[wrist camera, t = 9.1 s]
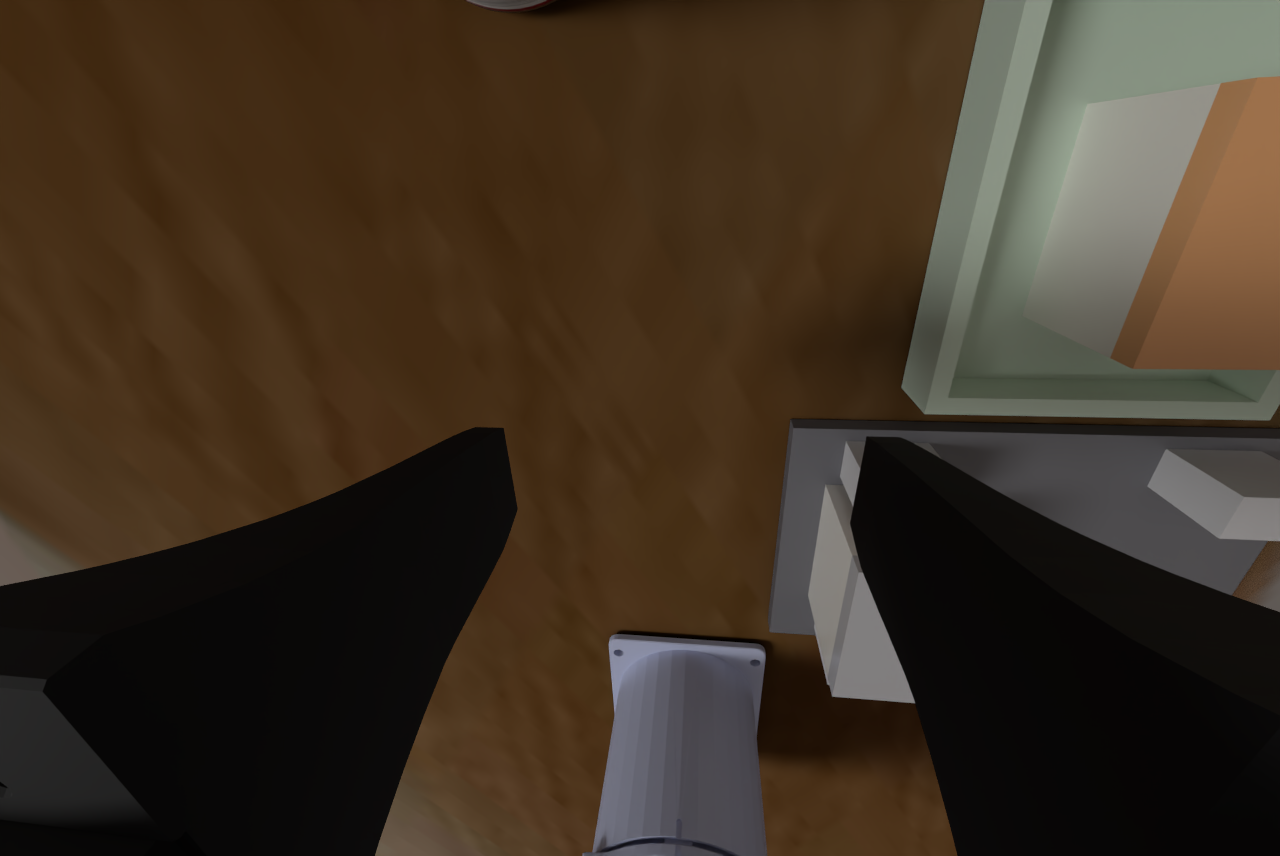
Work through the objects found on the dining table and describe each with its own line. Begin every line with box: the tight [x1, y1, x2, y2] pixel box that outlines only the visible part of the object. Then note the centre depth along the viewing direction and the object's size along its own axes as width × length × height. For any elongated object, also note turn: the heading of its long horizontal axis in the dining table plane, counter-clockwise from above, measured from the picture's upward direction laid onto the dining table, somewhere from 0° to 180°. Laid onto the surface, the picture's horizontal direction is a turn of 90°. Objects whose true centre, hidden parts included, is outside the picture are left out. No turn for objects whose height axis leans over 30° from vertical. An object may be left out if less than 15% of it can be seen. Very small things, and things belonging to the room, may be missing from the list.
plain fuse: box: [808, 485, 915, 703], centre depth 19 cm, size 6×4×5 cm, turn 2°
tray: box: [901, 0, 1280, 420], centre depth 15 cm, size 12×10×2 cm
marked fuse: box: [1022, 76, 1280, 370], centre depth 13 cm, size 6×4×5 cm, turn 2°
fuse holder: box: [768, 419, 1280, 685], centre depth 20 cm, size 11×18×4 cm, turn 92°
